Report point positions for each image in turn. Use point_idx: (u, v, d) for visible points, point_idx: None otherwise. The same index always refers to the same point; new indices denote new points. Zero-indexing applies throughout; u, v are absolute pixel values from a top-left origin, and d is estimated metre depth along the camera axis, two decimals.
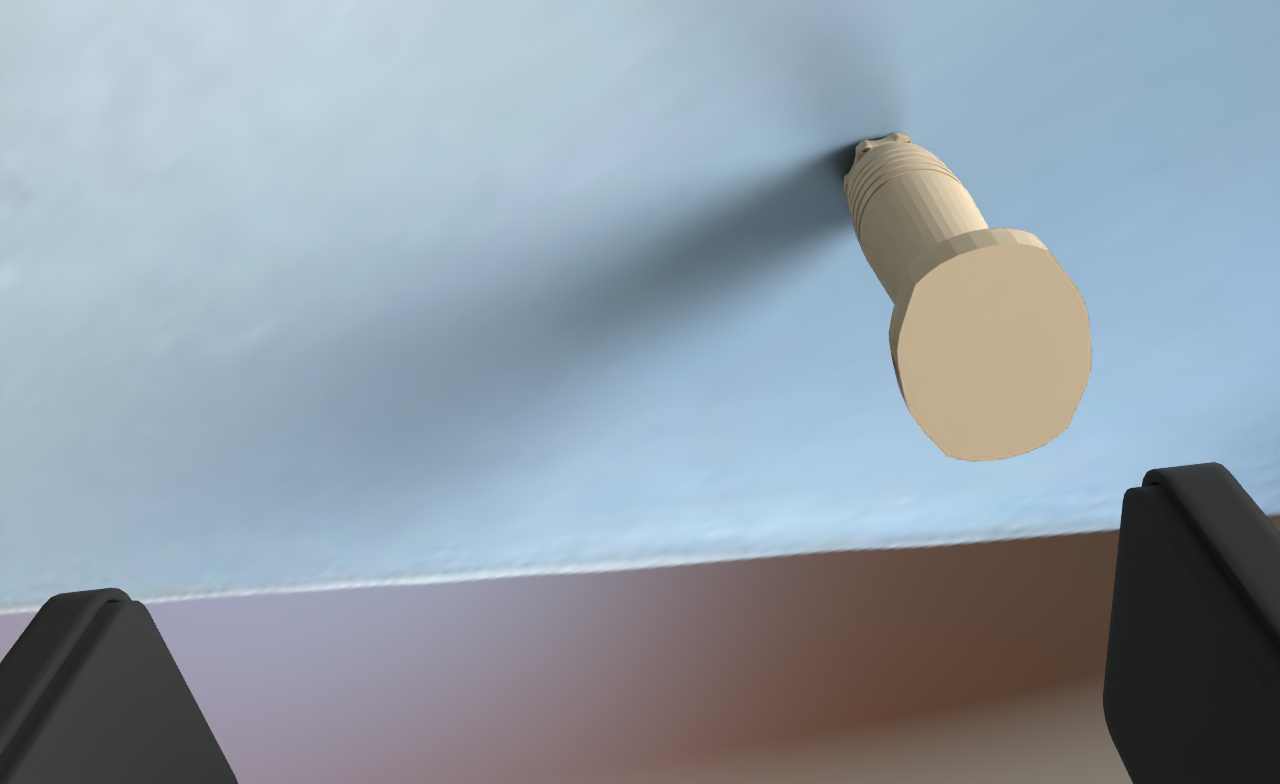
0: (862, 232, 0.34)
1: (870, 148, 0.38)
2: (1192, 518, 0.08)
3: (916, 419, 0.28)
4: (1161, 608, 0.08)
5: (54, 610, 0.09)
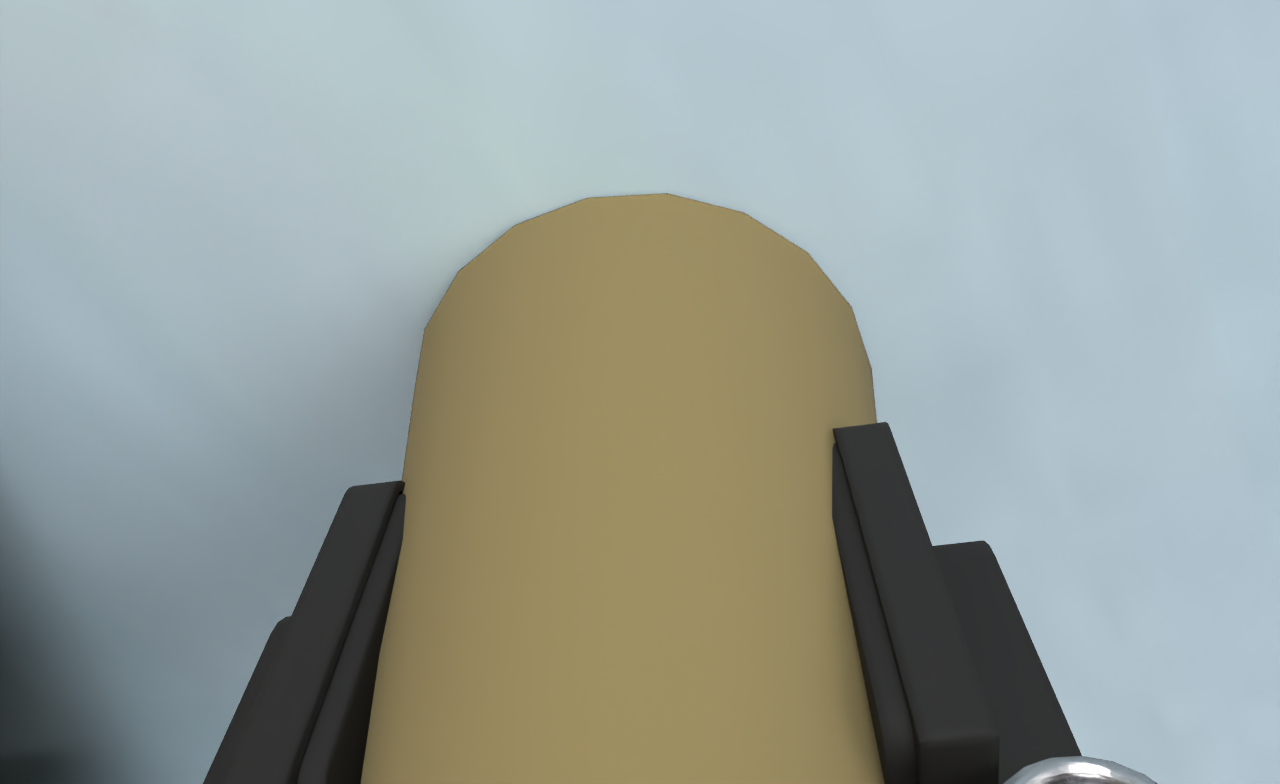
0: None
1: None
2: (846, 467, 0.09)
3: None
4: None
5: (358, 497, 0.10)
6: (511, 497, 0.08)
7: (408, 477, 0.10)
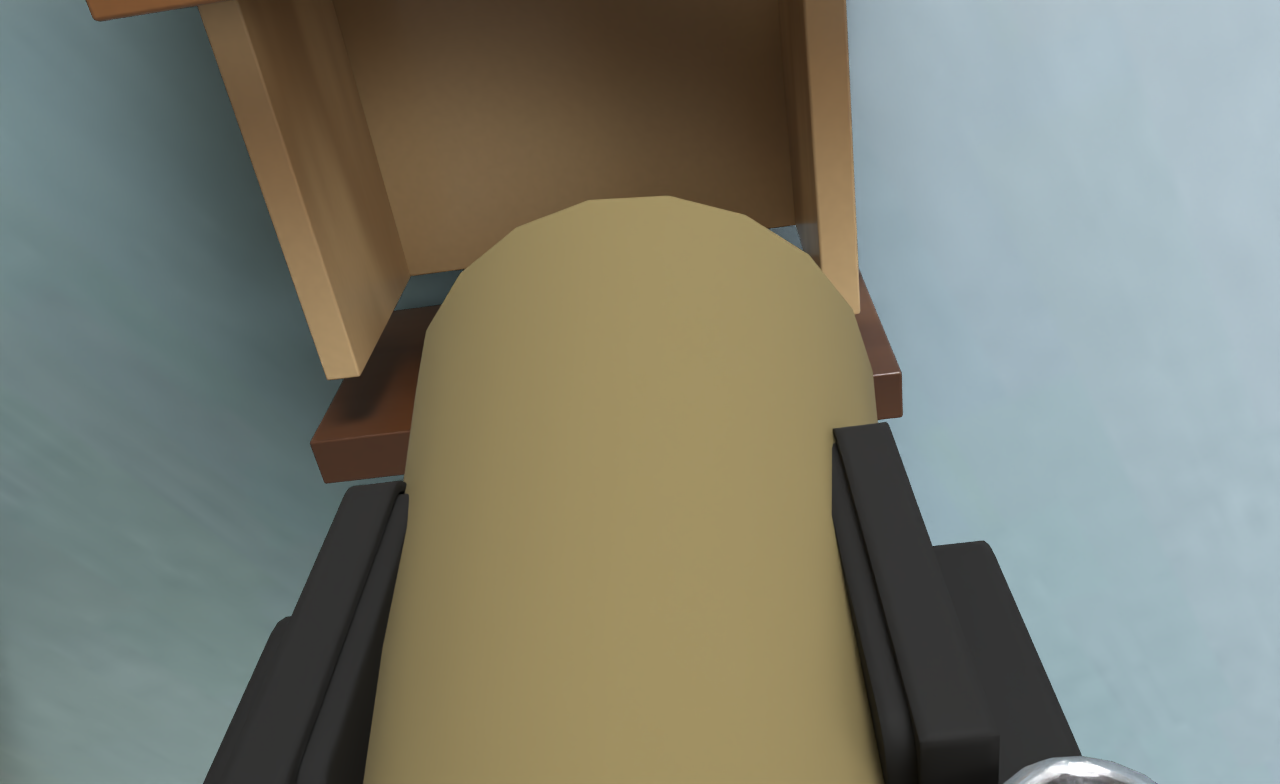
0: None
1: None
2: (846, 467, 0.09)
3: None
4: None
5: (358, 497, 0.10)
6: (514, 500, 0.08)
7: (410, 479, 0.10)
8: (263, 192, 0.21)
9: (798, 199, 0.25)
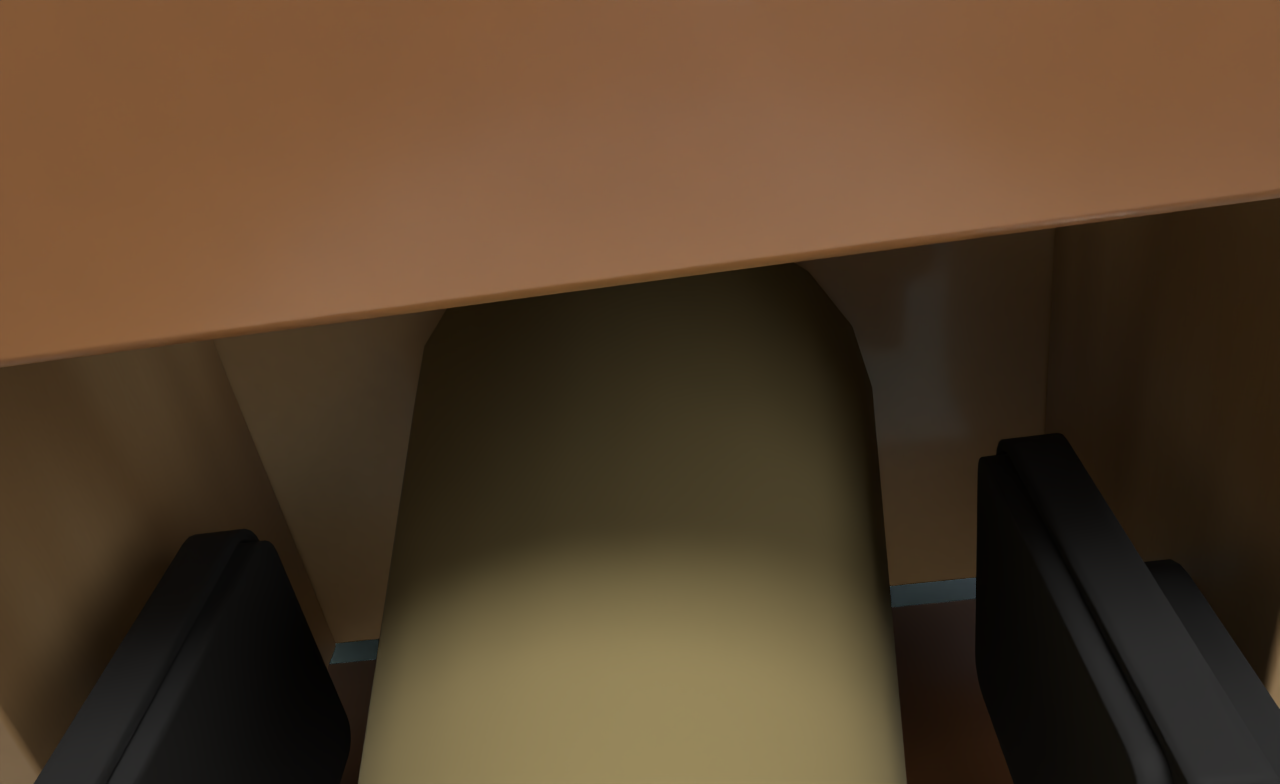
0: None
1: None
2: (1027, 482, 0.09)
3: None
4: (1003, 566, 0.09)
5: (194, 548, 0.10)
6: (508, 522, 0.08)
7: (406, 498, 0.10)
8: None
9: None
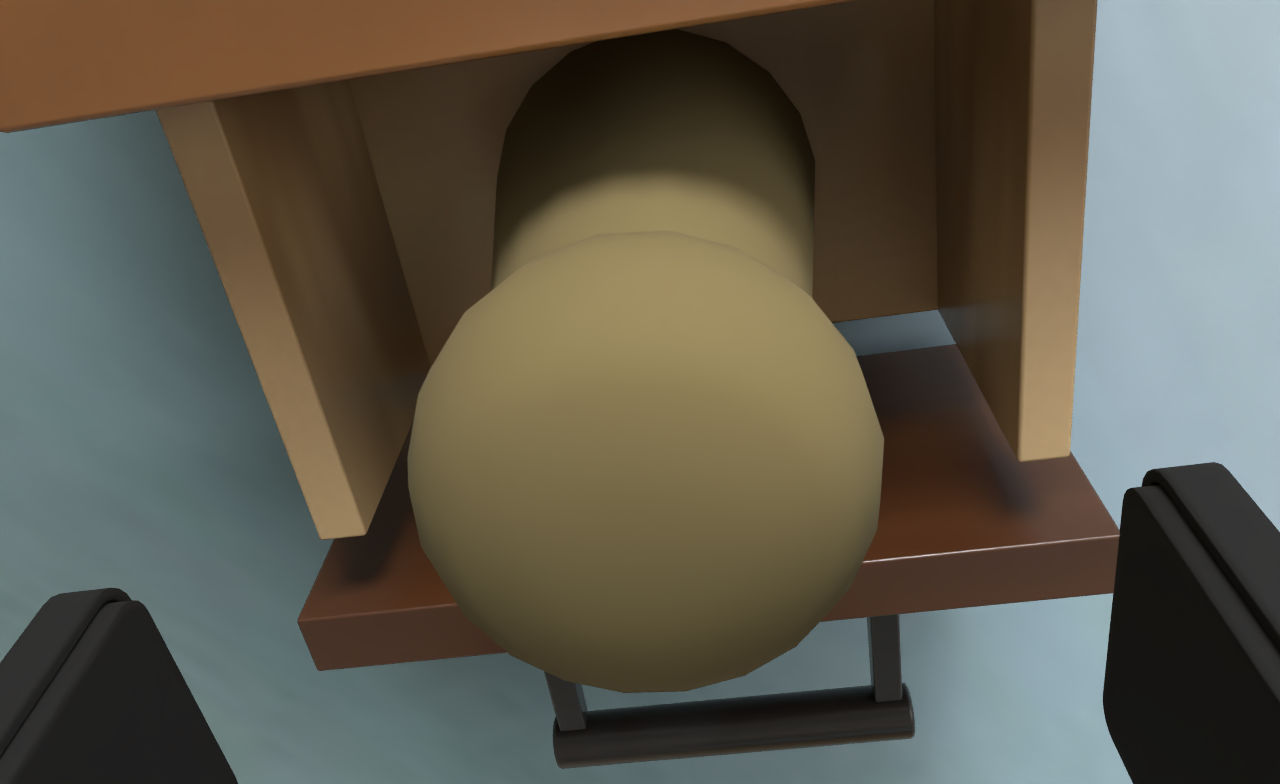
0: None
1: None
2: (1192, 518, 0.08)
3: None
4: (1161, 608, 0.08)
5: (54, 610, 0.09)
6: (579, 159, 0.14)
7: (506, 188, 0.16)
8: (228, 293, 0.15)
9: (955, 283, 0.19)
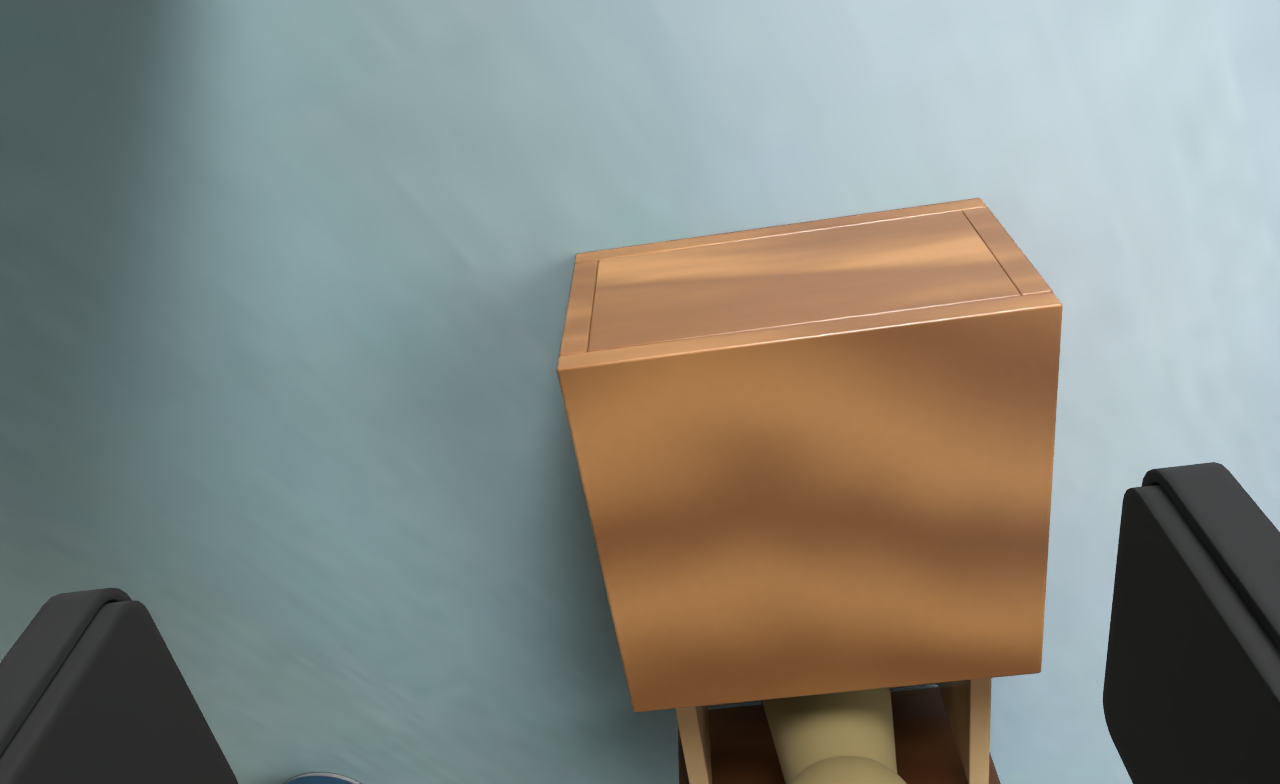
0: None
1: None
2: (1192, 518, 0.08)
3: None
4: (1161, 608, 0.08)
5: (54, 610, 0.09)
6: None
7: None
8: (681, 737, 0.41)
9: (945, 690, 0.45)
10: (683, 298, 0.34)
